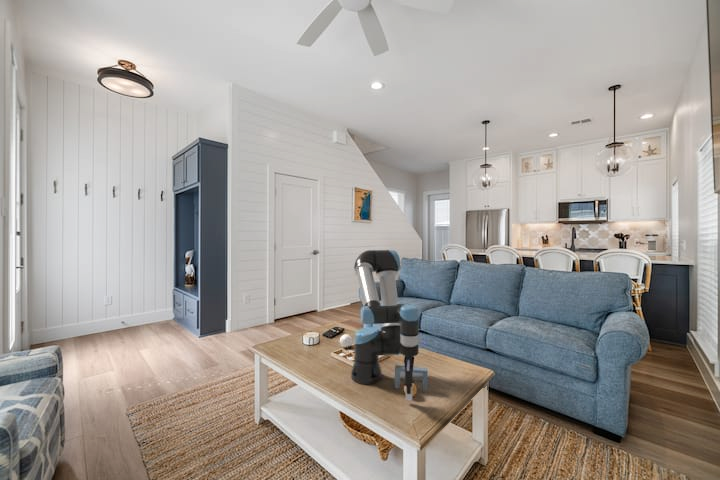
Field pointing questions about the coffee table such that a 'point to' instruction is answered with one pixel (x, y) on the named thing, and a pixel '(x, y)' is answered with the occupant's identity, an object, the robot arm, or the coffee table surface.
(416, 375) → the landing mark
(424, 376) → the bridge
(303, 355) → the coffee table surface
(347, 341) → the geometric ball
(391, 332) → the robot arm
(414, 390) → the ball
